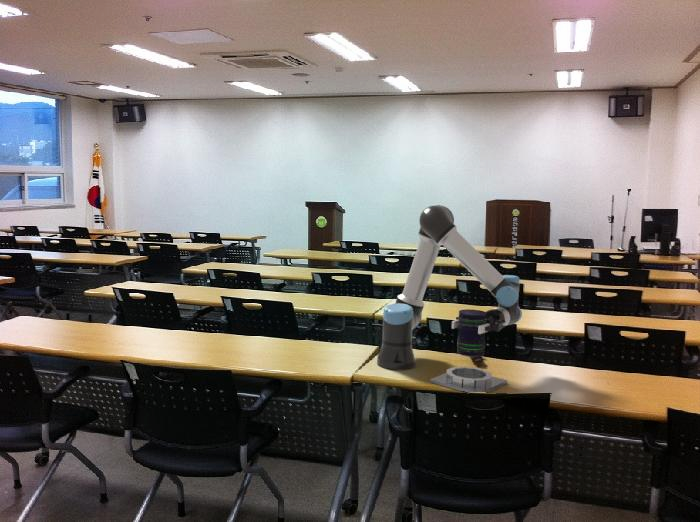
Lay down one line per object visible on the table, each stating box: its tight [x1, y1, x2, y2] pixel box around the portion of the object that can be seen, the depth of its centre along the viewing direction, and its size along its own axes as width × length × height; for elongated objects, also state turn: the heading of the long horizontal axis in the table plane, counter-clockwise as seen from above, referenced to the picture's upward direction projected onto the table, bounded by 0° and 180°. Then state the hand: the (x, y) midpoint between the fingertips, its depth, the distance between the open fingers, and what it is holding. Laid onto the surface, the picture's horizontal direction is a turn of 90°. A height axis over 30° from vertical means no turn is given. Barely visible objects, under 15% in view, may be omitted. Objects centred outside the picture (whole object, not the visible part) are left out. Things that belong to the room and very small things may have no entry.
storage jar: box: [456, 308, 486, 358], centre depth 204 cm, size 10×10×15 cm
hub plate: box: [429, 366, 508, 393], centre depth 206 cm, size 20×20×4 cm
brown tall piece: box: [468, 356, 484, 367], centre depth 233 cm, size 6×5×15 cm
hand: (465, 327), depth 200 cm, fingers closed on storage jar, 10 cm apart
